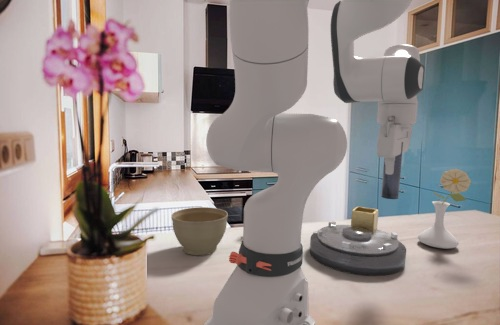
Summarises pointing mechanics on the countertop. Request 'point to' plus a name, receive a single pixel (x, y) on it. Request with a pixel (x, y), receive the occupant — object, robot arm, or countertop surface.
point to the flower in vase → (437, 233)
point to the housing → (358, 260)
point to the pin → (392, 179)
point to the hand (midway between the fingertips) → (392, 172)
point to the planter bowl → (199, 229)
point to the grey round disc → (359, 235)
